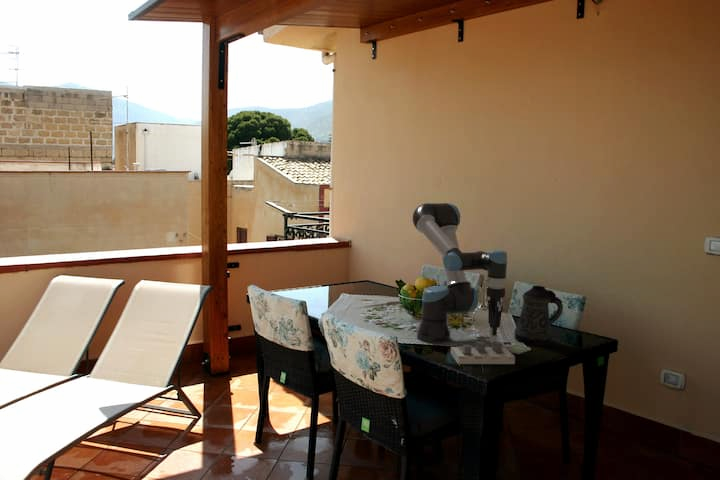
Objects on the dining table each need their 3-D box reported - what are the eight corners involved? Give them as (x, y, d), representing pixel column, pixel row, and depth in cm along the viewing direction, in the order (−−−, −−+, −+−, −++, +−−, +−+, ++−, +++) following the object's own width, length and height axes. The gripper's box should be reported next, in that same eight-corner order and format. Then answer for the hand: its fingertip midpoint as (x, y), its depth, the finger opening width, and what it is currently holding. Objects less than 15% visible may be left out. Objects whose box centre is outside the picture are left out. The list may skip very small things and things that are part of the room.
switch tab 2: (475, 349, 247) (476, 341, 246) (482, 349, 247) (483, 341, 247) (478, 352, 243) (478, 343, 243) (485, 352, 243) (485, 343, 243)
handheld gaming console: (502, 339, 268) (531, 347, 257) (502, 342, 268) (531, 351, 257) (489, 343, 262) (517, 351, 250) (488, 346, 262) (517, 355, 250)
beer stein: (506, 336, 277) (510, 283, 274) (541, 333, 284) (545, 282, 281) (528, 346, 261) (532, 291, 258) (564, 343, 268) (568, 289, 265)
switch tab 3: (491, 349, 248) (492, 341, 247) (498, 349, 248) (499, 341, 247) (494, 352, 244) (495, 343, 243) (502, 352, 244) (502, 344, 243)
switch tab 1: (461, 353, 242) (462, 344, 241) (469, 353, 242) (469, 344, 242) (464, 356, 238) (464, 347, 237) (471, 356, 238) (472, 347, 238)
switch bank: (450, 353, 248) (450, 346, 248) (504, 353, 250) (504, 346, 250) (458, 363, 236) (458, 356, 235) (514, 364, 238) (515, 356, 237)
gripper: (482, 284, 255) (479, 337, 258) (492, 290, 242) (488, 346, 245) (499, 284, 255) (496, 337, 258) (510, 290, 243) (506, 346, 245)
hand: (492, 341), depth 251 cm, fingers closed
